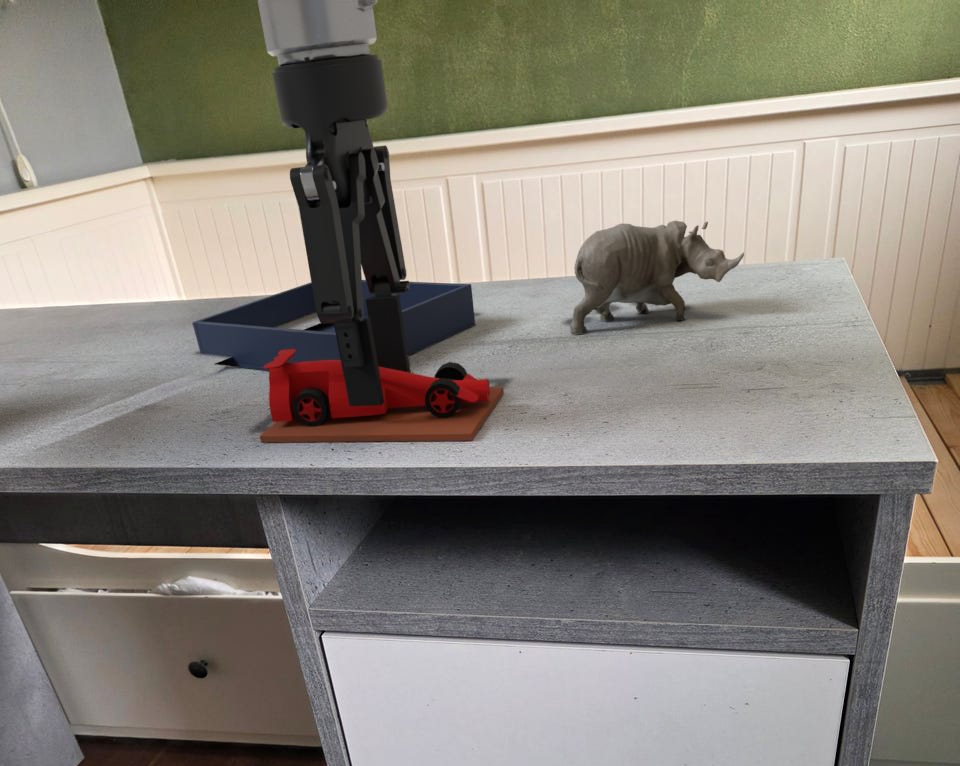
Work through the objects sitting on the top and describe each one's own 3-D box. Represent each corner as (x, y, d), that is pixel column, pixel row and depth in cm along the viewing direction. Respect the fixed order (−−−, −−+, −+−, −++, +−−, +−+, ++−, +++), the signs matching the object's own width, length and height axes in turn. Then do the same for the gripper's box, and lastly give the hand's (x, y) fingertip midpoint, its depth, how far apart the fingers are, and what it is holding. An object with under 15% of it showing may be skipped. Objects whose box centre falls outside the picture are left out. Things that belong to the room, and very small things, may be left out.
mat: (260, 442, 72) (258, 435, 71) (313, 397, 80) (312, 391, 80) (472, 440, 67) (471, 433, 67) (503, 393, 76) (503, 386, 75)
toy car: (485, 416, 70) (479, 352, 67) (273, 429, 72) (258, 368, 70) (493, 391, 74) (487, 331, 72) (294, 405, 77) (281, 347, 74)
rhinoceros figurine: (537, 296, 94) (619, 159, 86) (640, 357, 98) (727, 233, 90) (543, 320, 88) (632, 175, 80) (653, 385, 92) (747, 254, 84)
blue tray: (202, 362, 95) (191, 322, 93) (330, 314, 108) (323, 278, 106) (353, 381, 83) (345, 335, 81) (475, 325, 97) (471, 283, 94)
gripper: (320, 52, 51) (385, 431, 64) (418, 47, 67) (455, 353, 79) (207, 67, 53) (292, 433, 66) (328, 59, 68) (378, 356, 81)
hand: (381, 389), depth 72 cm, fingers closed on toy car, 6 cm apart
